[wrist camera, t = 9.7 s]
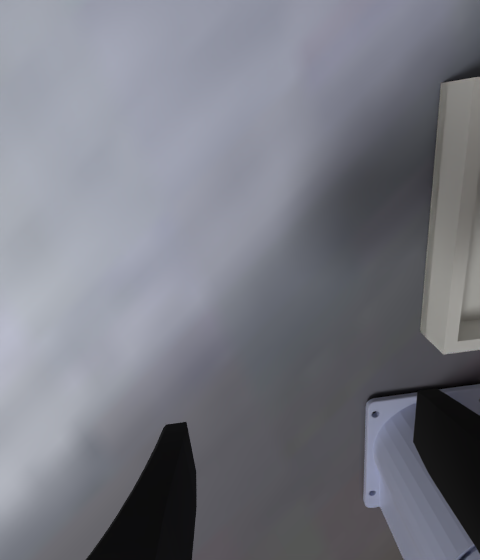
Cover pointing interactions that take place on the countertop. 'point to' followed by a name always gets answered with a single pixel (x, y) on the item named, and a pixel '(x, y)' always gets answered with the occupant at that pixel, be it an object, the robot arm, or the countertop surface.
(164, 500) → the robot arm
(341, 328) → the countertop surface
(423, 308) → the tray
